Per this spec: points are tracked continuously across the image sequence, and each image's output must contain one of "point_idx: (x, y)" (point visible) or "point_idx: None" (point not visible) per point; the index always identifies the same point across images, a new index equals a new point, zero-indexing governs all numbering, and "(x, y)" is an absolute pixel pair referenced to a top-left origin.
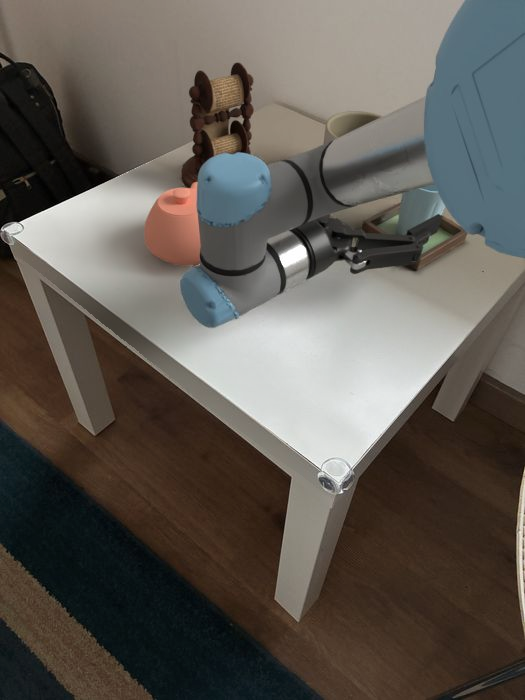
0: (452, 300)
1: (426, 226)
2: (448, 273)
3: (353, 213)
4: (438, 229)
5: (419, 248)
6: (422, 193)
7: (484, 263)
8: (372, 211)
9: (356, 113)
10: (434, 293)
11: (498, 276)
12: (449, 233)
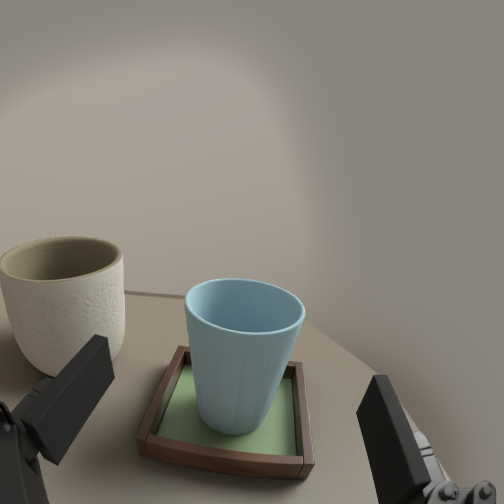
0: None
1: (407, 427)
2: (342, 443)
3: (100, 411)
4: None
5: (492, 493)
6: (266, 342)
7: (350, 392)
8: (129, 393)
9: (46, 241)
10: (372, 493)
11: None
12: None
